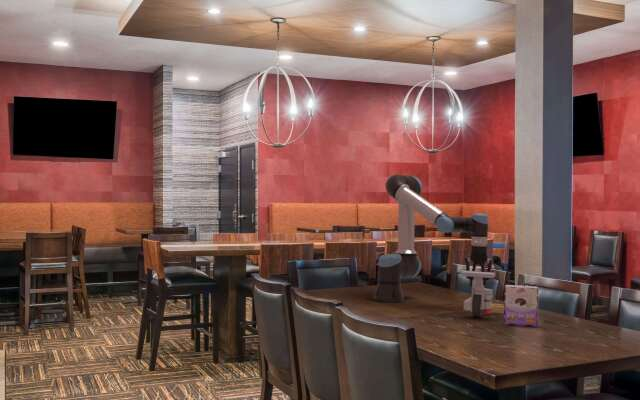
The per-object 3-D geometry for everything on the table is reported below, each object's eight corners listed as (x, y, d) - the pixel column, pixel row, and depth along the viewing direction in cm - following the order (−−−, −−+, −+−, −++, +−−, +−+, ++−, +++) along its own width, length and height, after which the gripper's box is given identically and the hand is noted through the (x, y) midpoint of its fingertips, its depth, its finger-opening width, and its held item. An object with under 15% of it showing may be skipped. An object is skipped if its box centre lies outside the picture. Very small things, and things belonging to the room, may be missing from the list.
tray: (484, 312, 324) (485, 303, 324) (463, 310, 328) (463, 301, 328) (490, 307, 339) (490, 299, 339) (470, 306, 343) (470, 297, 343)
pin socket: (487, 312, 325) (487, 305, 325) (490, 309, 333) (490, 303, 333) (506, 313, 321) (507, 307, 321) (509, 311, 329) (509, 305, 329)
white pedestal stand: (459, 317, 307) (460, 272, 307) (463, 313, 317) (465, 270, 317) (491, 320, 301) (492, 274, 301) (494, 316, 311) (496, 272, 311)
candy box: (537, 325, 293) (539, 286, 293) (537, 327, 287) (538, 287, 287) (504, 322, 297) (505, 284, 297) (503, 324, 292) (504, 285, 292)
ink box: (492, 314, 318) (493, 288, 318) (485, 315, 314) (486, 289, 315) (477, 312, 324) (478, 286, 324) (470, 312, 321) (471, 287, 321)
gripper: (460, 244, 333) (458, 293, 333) (495, 246, 327) (494, 296, 327) (463, 244, 340) (462, 291, 340) (498, 246, 334) (496, 294, 334)
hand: (477, 293), depth 333 cm, fingers closed on stop pin, 4 cm apart
